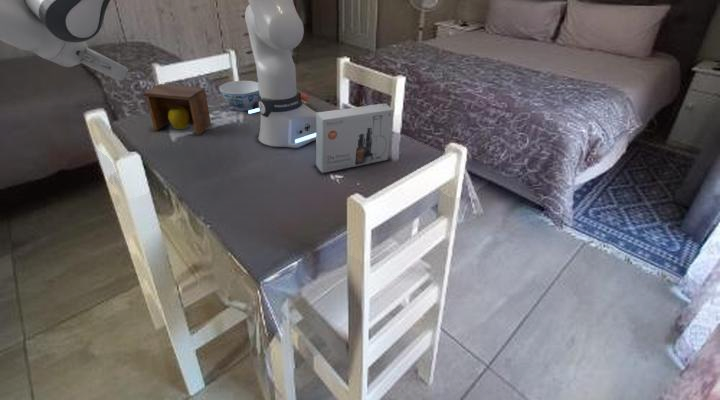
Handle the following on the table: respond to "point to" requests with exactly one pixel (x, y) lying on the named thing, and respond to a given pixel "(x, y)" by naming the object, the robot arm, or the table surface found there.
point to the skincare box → (353, 136)
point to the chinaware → (240, 94)
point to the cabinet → (175, 95)
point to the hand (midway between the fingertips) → (116, 69)
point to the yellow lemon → (179, 117)
